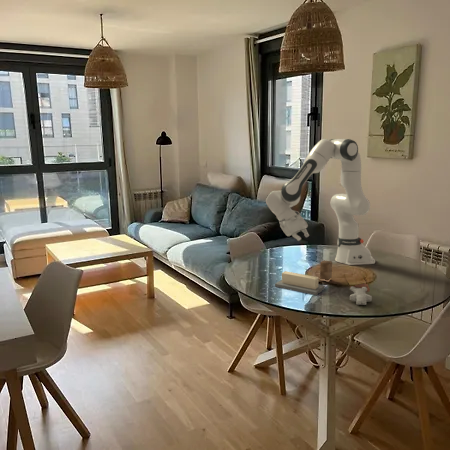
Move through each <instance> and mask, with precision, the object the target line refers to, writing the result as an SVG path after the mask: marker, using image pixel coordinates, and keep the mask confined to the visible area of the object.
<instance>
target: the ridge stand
mask: <svg viewBox="0 0 450 450" xmlns="http://www.w3.org/2000/svg"><path fill="white" fill-rule="evenodd" d="M319 280H320V276H313V275H307V274H302V273H298V272H292V271H288V270H287V271H286V270H285V271H283V272H281V280H279V281H277V282H275V283H274V287H276V288H281V289H285V290H290V291H294V292H297V293H298V292H299V293H303V294H308V295H314V296H317V295H319V294H320V293H321V292H323V291H324V290H325V288H326V286H325V285H322V284H319ZM323 289H324V290H323ZM322 290H323V291H322ZM318 293H319V294H318Z"/></svg>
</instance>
